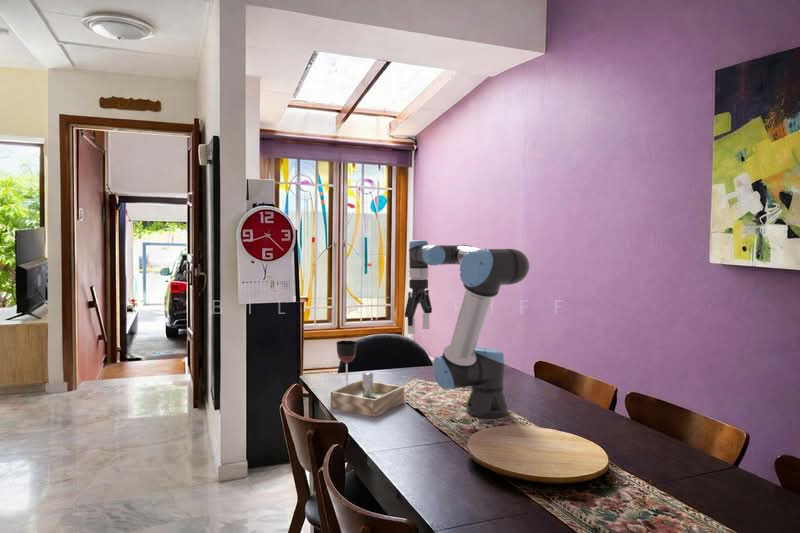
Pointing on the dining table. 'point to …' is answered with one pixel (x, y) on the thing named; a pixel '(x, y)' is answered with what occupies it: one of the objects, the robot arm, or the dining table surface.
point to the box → (355, 402)
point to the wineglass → (346, 353)
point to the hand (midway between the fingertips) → (418, 331)
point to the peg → (368, 385)
